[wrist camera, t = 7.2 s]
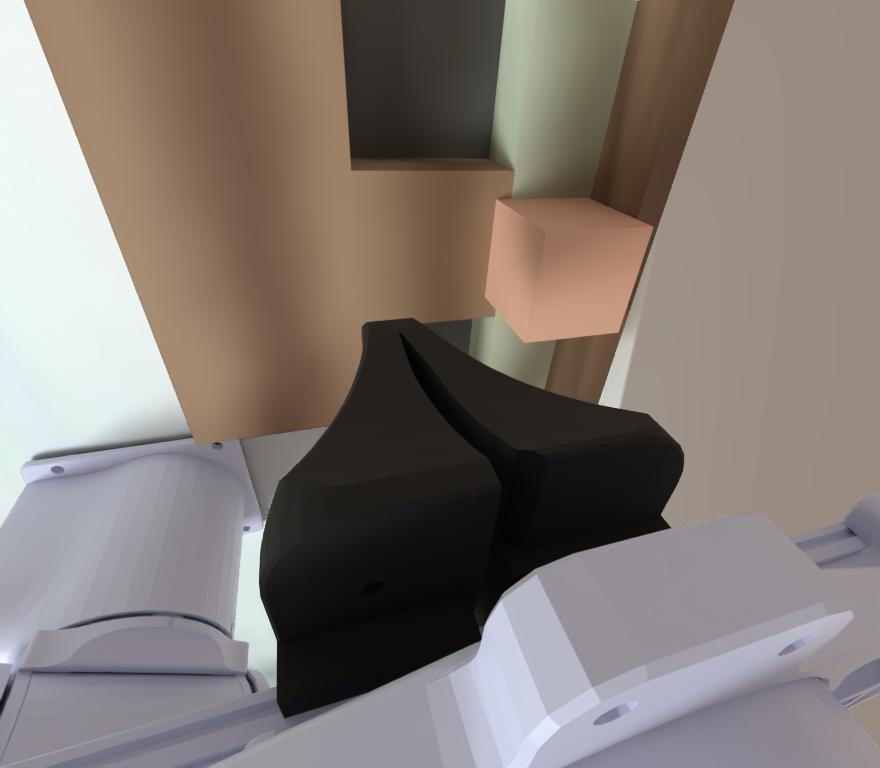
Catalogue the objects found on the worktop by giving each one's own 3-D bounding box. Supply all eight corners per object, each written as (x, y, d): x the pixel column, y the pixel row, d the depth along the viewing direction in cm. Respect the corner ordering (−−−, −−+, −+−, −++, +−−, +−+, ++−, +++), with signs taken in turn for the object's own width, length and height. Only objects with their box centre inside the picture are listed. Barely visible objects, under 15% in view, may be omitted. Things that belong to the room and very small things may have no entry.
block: (484, 296, 19) (524, 343, 16) (496, 199, 16) (545, 231, 13) (566, 290, 20) (618, 332, 17) (588, 197, 17) (653, 226, 14)
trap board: (205, 403, 21) (184, 498, 17) (50, -50, 12) (-99, -121, 7) (535, 362, 26) (589, 427, 21) (609, 12, 16) (737, -8, 12)
